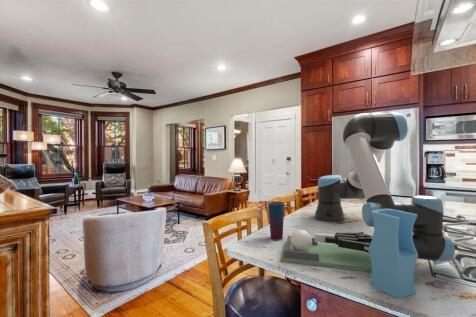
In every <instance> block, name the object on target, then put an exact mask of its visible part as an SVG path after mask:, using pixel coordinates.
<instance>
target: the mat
mask: <svg viewBox="0 0 476 317" xmlns="http://www.w3.org/2000/svg"><path fill="white" fill-rule="evenodd" d="M286 242H287V240H285V242H284V246H283V249H282V253H281V256H280V262H282V263H283V262H286V263H291V264H292V263H295V264H303V265H311V266H319V267H328V268H337V269H343V270H353V271H361V272H362V271H363V272H370V273H372V263H371V258H370V255H369V253H367V252H364V251H359V250H353V249H347V248H342V247H338V245H336V244H329V243H318V245H312V246H311V248H310V249H309V250H308V251H306V252H311V253H319V261H312V260H303V259H294V258H285V257H284V250H285V246H286ZM289 250H292V251H296V250H295V249H294V248H293V247H292V245H291V243H290V247H289Z"/></svg>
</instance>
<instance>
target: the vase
mask: <svg viewBox="0 0 476 317" xmlns="http://www.w3.org/2000/svg"><path fill="white" fill-rule="evenodd" d="M371 213H372V217H373V221H374V227H373V234H372V236H373V238H372V241H371V244H370V246H369V255H370V258H371V263H372V272H371V273H370V274H371V275H370V279H369V282H368V285H370V286H372V287H374V288H376V289H377V290H379V291H381V292H383V293H385V294H387V295H388V296H391V297H393V298H395V299H397V300H398V299H400V300H401V299H404V298H406V297H408V296H411V295H414V294H416V290H415V289H416V288H415V284H414V283H415V282H414V273H415V267H416V265H417V261H418V260H419V259H418V253H417V251H416V248H415V245H414V242H413V238H412V231H413V226H414V223H415V220H416V218H417V214H413V213H408V212H404V211H399V210H394V209H380V210H373V211H371Z"/></svg>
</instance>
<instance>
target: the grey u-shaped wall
mask: <svg viewBox="0 0 476 317" xmlns="http://www.w3.org/2000/svg"><path fill="white" fill-rule="evenodd" d="M290 238H291V235H288V236H287V238H286V241H287V242H286V246H285V250H284V257H285V258H294V259H303V260H312V261H319V253H311V252H302V251H292V250H289V247H290V243H291V242H290ZM311 238H312V245H318V244H319V242H315V237H311Z"/></svg>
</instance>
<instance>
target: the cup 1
mask: <svg viewBox="0 0 476 317" xmlns="http://www.w3.org/2000/svg"><path fill="white" fill-rule="evenodd" d="M267 207H268V215H269V216H268V219H269V232H270V239H271V240H274V241H282V240H283V237H284V236H283V235H284V221H285V220H284V218H285V202H283V201H268V205H267Z"/></svg>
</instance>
